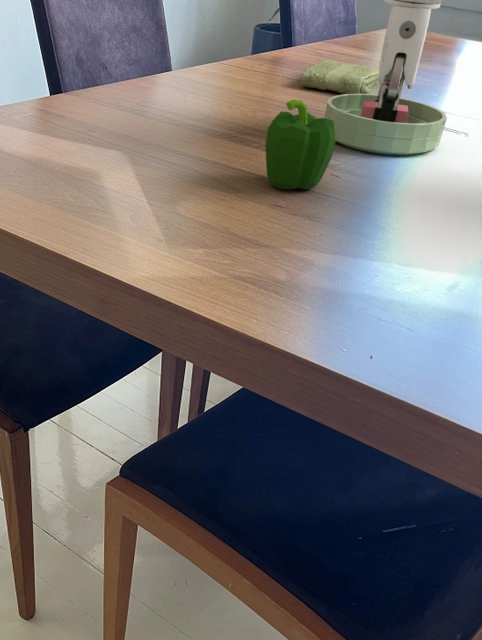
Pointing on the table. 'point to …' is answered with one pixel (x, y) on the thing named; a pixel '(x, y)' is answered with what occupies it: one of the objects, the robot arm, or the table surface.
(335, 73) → the washcloth
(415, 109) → the bowl
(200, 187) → the table surface
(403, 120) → the eraser
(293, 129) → the bell pepper
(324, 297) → the table surface
